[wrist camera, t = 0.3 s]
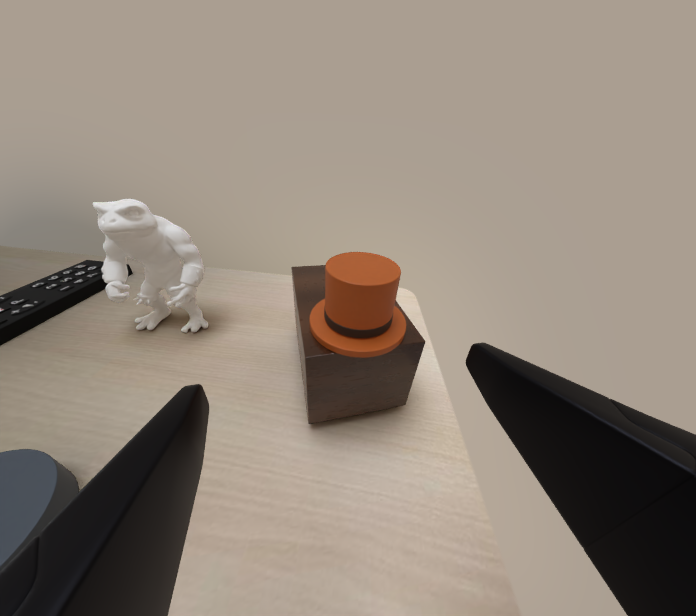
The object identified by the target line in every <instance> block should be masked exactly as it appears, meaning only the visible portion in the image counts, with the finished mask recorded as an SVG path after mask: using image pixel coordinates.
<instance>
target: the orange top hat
mask: <svg viewBox="0 0 696 616" xmlns="http://www.w3.org/2000/svg"><path fill="white" fill-rule="evenodd" d="M400 275H401V270H400V267H399V266H398V265H397V264H396V263H395V262H394V261H392V260H390V259H388V258H386V257H383V256H380V255H377V254H372V253H364V252H349V253H343V254H339V255H336V256H334V257H332V258H330V259H329V260H328V261H327V263H326V265H325V299H323V300H322V301H320V302H319V303H318V304H316V305H315V307H314V308H313V309H312V311H311V314H310V318H309V322H310V330H311V332H312V334H313V336H314V338H315V339H316V340H317V341H318V342H319V343H320V344H321V345H323V346H324V347H325V348H327V349H329V350H331V351H333V352H335V353H338V354H341V355H345V356H350V357H359V358H366V357H374V356H379V355H382V354H385V353H388V352H390V351H392V350H393V349H395V348H396V347H397V346H398V345H399V344H400V343H401V342H402V340H403V338H404V335H405V331H406V320H405V318H404V316H403V314H402V312H401V311H400V310H399V309H398V308H397V307H396V306H395V300H396V295H397V290H398V285H399V280H400Z"/></svg>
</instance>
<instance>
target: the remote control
mask: <svg viewBox="0 0 696 616" xmlns="http://www.w3.org/2000/svg"><path fill="white" fill-rule="evenodd" d="M103 265H104V262H101V261H92V260H86V261H83V262H81V263H79V264H76V265H74V266H71V267H69V268H66V269H64V270H62V271H59V272H57V273H54V274H52V275H50V276H47V277H45V278H42V279H40V280H37V281H35V282H33V283H30V284H28V285H25V286H23V287H21V288H18V289H16V290H13V291H11V292H8V293H6V294H4V295H1V296H0V345H1V344H3V343H5V342H7V341H9V340H11V339H12V338H14V337H16V336H18V335H20V334H22V333H23V332H25V331H27V330H29V329H31V328H33V327H35V326H36V325H38V324H40V323H42V322H44V321H46V320H47V319H49V318H51V317H53V316H55V315H57V314H59V313H60V312H62V311H64V310H66V309H68V308H70V307H71V306H73V305H75V304H77V303H79V302H81V301H83V300H84V299H86V298H88V297H90V296H92V295H94V294H95V293H97V292H99V291H101V290H103V289H105V288H106V286H107V284H108V283H105V282H104V279H102V275H104V274H103V272H102V271H101V268H102V266H103ZM126 265H127V269H128V276H129V275H130V274H132V271H131V268H130V266H129V265H128V264H126Z"/></svg>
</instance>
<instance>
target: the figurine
mask: <svg viewBox="0 0 696 616" xmlns="http://www.w3.org/2000/svg"><path fill="white" fill-rule="evenodd" d="M93 206H94V208H95V209H96V210H97V212H98V214H97V216H98V227H99V228H100V230H101V231H102V232H103V233H104V234H105V237H106V240H105V242H104V244H103V249H104V251H105V253H106V259H105V261H104V265H103V266H102V268H101V271H102V272H103V274H104V275H102V279H104V282H105V283H108V284H107V286H106V292H107V294H108V297H109V298H110V299H111V300H112V301H114V302H116V303H123V302H124V301H126V300H127V299H128V298H129V297H130V296H129V292H128V291H125V292H123V293H120V291H121V289H124V290H126V289H130V286H129V285H125V284H124V283H125V282H126V280H127V277H128V269H127V265H126V264H127V258H126V256H128V257H130V258H131V259H133V260H135V261H139V262H141V263H142V265H143V266H144V268H145V270H144V274H145V280H144V282H143V283H142V285H141V292H139V293H138V294H137V297H136V298H134V299H133V300H139V301H138V302H137V304H140V303H143V304H144V305H146V306H148V305H150V306H151V307H153V308H154V309H155V310H153V311H152V312H151V313H150V314H148V315H146V316H143V317H139V318H136V319H135V322H136V323H140V324H138V325H137V326H136V329H137V330H142V329H144V328H146V327H147V329H148V330H153V329H154V328H155V327H156V326H157V324H158V323H159V322H160V321H161V320H162V319H164V318H166V317H167V316H168V315H169V314H170V313H171V310H170V308H169V307H168V306H173V305H175V306H176V307H178V308H181V307H182V308H183V309H184V310H185V311H187V312H188V314H189V315H190V319H189V322H188V323H187V324H186V325H185V326H184V327H183V328H182V329H181V331H182V332H184V333H187V332H188V329H190V328H191V331H192V332H197V331H198V329H199V328H200V327H201V326H202V327H203V328H207V327H208V325H209V324H208V322H207V321H206V320H205V319H204V318H203V313H202V310H201V309H200V308H198V306H197V301H196V299H195V297H196V287H198V285H199V284H200V282H201V281H202V279H203V275H204V269H205V268H204V265H203V262H202V259H201V255H200V252H199V250H198V248H197V247H196V246H195V245H194V244H193V243H192V239H191V237H190V235H189V234H188V233H187V232H186V231H185V230H184V229H182V228H181V227H179V226H177V225H175V224H173V223H171V222H170V221H168V220H167V219H165V218H163V217H161V216H156V215H153V214H152V213H151V211H150V209H149V208H148V206H147V205H146V204H144V203H142V202H140V201H137V200H134V199H122V200H119V201H113V202H94V203H93ZM180 258H181V259H182V260H183V261H184V264H185V265H183V268H182V266H181V261H180ZM163 289H166V291H167V293H168V295H169V296H170V300H171V301H169V302H167V305H168V306H167V305H166V298H165V297H164V296H163V295H161V294H159V292H160V291H161V290H163Z"/></svg>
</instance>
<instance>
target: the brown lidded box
mask: <svg viewBox="0 0 696 616" xmlns="http://www.w3.org/2000/svg"><path fill="white" fill-rule="evenodd" d="M292 279H293V292H294V305H295V318H296V328H297V336H298V344H299V352H300V360H301V368H302V375H303V383H304V391H305V399H306V407H307V415H308V423H309V424H312V423H317V422H322V421H327V420H332V419H337V418H342V417H347V416H352V415H357V414H362V413H367V412H372V411H377V410H382V409H387V408H393V407H398V406H403V405H406V401H407V398H408V395H409V392H410V389H411V386H412V382H413V379H414V376H415V373H416V370H417V366H418V363H419V360H420V357H421V354H422V351H423V347H424V344H425V340H424V339H423V337H422V336H421V335H420V333H419V332H418V331H417V329H416V328H415V326H414V325H413V324H412V322H411V321H410V320H409V318H408V317H407V315H406V314H405V313H404V311H403V310H402V309H401V307H400V306H399V304H398V303H397V302H396V300H395V306H396V307H397V308H398V309H399V310H400V311H401V312H402V314H403V316H404V318H405V320H406V331H405V335H404V338H403V340H402V342H401V343H400V344H399V345H398V346H397V347H396V348H395V349H393V350H392V351H390V352H388V353H385V354H382V355H379V356H374V357H366V358H359V357H350V356H345V355H341V354H338V353H335V352H333V351H331V350H329V349H327V348H325V347H324V346H323V345H321V344H320V343H319V342H318V341H317V340H316V339H315V338H314V336H313V334H312V332H311V330H310V322H309V318H310V314H311V311H312V309H313V308H314V307H315V305H316V304H318V303H319V302H320V301H322V300H323V299H325V265H321V266H302V267H292Z"/></svg>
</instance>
